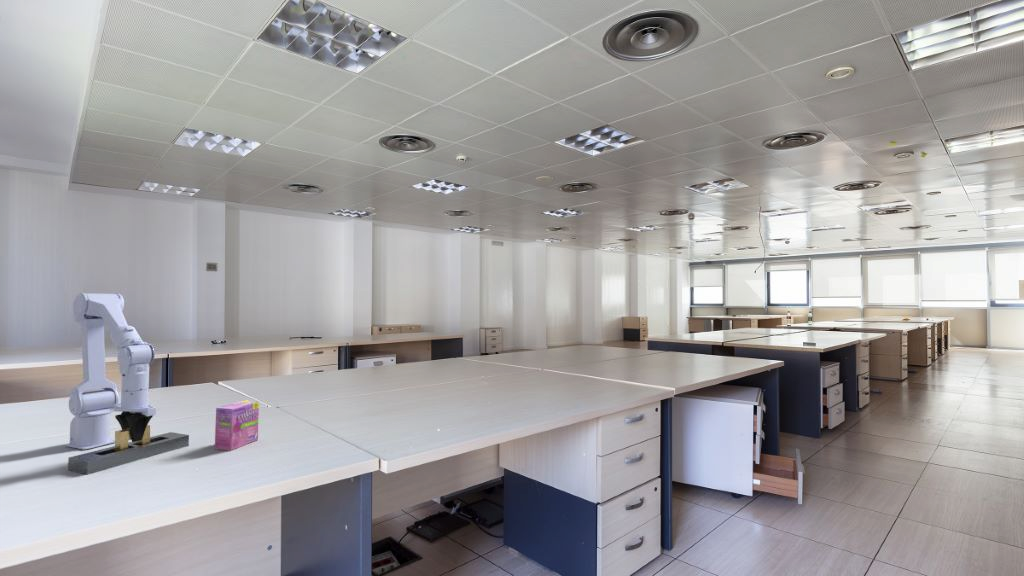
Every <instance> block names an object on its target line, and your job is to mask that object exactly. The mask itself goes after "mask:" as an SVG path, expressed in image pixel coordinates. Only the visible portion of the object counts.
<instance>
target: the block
mask: <svg viewBox="0 0 1024 576" xmlns="http://www.w3.org/2000/svg"><path fill="white" fill-rule="evenodd" d="M189 441H190V435H189V434H184V433H179V432H174V431H173V432H172V431H170V432H167V433H162V434H157V435H153V436H150V443H149V444H145V445H141V446H138V445H137V441H136V442H132V441H130V442H129V441H128V449H126V450H122V451H118V452H115V445H114V446H110V447H105V448H101V449H98V450H94V451H89V452H85V453H82V454H77V455H73V456H69V457H68V462H67V471H72V472H77V473H80V474H84V475H90V474H93V473H97V472H101V471H105V470H108V469H112V468H115V467H119V466H122V465H125V464H130V463H132V462H133V463H134V462H136V461H140V460H143V459H146V458H150V457H153V456H157V455H161V454H164V453H168V452H171V451H175V450H177V449H182V448H184V447H188V446H189V445H190V443H189Z"/></svg>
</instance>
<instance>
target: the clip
mask: <svg viewBox="0 0 1024 576" xmlns="http://www.w3.org/2000/svg"><path fill="white" fill-rule="evenodd" d="M150 437H151V425H150V424H148V425H147V427H146V429H145V432H144V435H143V438H142V440H140V441H137V445H138V446H141V445H145V444H149V443H150ZM130 439H131V432H130V428H127V429H123V430H122V429H121V430H116V431H115V432H114V440H115V443H114V446H115V452H118V451H122V450H126V449H128V443H129V441H131V440H130Z"/></svg>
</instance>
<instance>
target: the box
mask: <svg viewBox="0 0 1024 576" xmlns="http://www.w3.org/2000/svg"><path fill="white" fill-rule="evenodd" d="M259 410H260V401H259V400H248V399H245V400H243V399H242V400H241V401H237V402H236V401H235V402H233V403H230V404H226V405H222V406H219V407H216V408H215V429H214V431H215V432H214V433H215V434H214V450H218V451H228V452H229V451H233V450H236V449H239V448H241V447H244V446H246V445H247V444H248V445H249V444H251V443H253V442H256V441H258V439H259V414H260V413H259V412H260V411H259Z"/></svg>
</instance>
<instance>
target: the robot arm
mask: <svg viewBox="0 0 1024 576" xmlns="http://www.w3.org/2000/svg"><path fill="white" fill-rule="evenodd" d="M124 299H125V298H124V296H123V295H122V294H121V293H93V292H92V293H91V292H90V293H89V292H88V293H86V292H85V293H84V292H79V293H78V294H76V296H75V298H74V301H73V304H72V305H73V306H72V307H73V318H74V319H73V320H74V322H75V323H77V324H79V325H80V330H81V349H82V351H81V354H82V358H81V359H82V379H83V380H82V381H81V382H79V383H78V384H76V385H75V386H73V388H71V390H70V396H69V399H68V410H69V412H70V414H72V415H73V416H74V417H73V418H72V419H71V421H70V425H69V443H65V446H66V447H69V448H74V449H79V450H85V451H86V450H89V449H93V448H97V447H102V446H106V445H110V444H115V439H111V436H110V435H111V413H113V412H118V413H120V412H121V413H120V414H116V415H114V417H115V419H116V420H117V422H118V423H119V425H120V428H121V430H123V429H127V428H130V432H131V439H130V440H129V441H131V442H136V441H140V440H142V438H143V435H144V432H145V429H146V427H147V425H149V423H150V421H151V419H152V418H153V417H154V416H155V415H157V407H155V406H152V405H151V404H149V393H150V391H149V389H150V388H149V387H150V385H149V384H150V365H152V364H153V363H154V360H155V357H156V356H155V355H156V353H155V349H154V346H153V344H151V343H148V342H147V341H143V339H142V338H141V336H140V335H139V332H138V331H137V330H136V327H134V326H133V325H128V322H127V320H126V318H125V315H124V313H123V312H124V311H123V310H124V308H125V300H124ZM106 325H107V326H108V327H109V329H110V330H111V333H110V335H109V338H110V340H111V342H112V343H113V345H114V347H115V349H116V350H117V352H118V354H117V363H118V366H119V367H118V368H119V370H118V371H119V374H121V387H120V388H121V389H120V390H121V393H120V394H119V392H118V389H117V388H118V387H117V383H115V382H113V381H111V380H109V379H107V375H106V374H107V373H106V351H105V327H104V326H106ZM98 389H101V390H98ZM120 395H121V396H120Z"/></svg>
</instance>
